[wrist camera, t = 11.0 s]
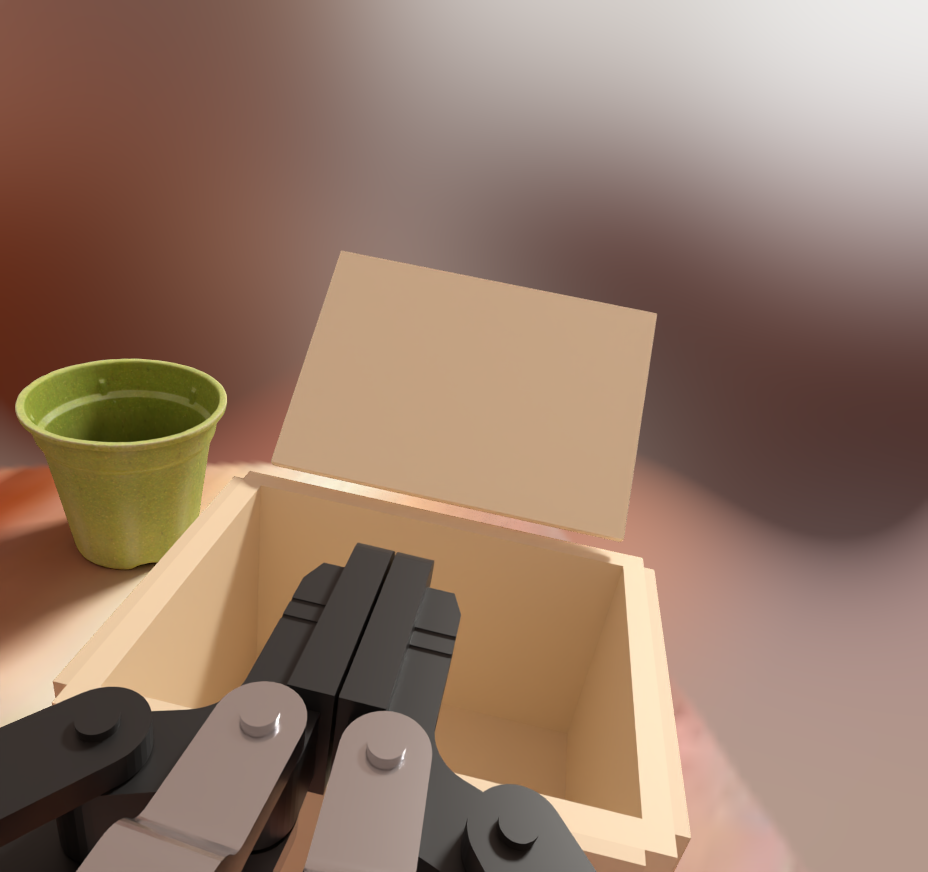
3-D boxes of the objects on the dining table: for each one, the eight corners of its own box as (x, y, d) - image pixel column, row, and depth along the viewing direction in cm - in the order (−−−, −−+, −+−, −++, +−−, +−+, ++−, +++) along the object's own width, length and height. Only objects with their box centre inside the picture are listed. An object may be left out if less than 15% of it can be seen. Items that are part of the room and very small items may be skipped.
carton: (68, 928, 22) (26, 711, 18) (238, 649, 33) (240, 468, 29) (593, 1070, 21) (696, 878, 17) (591, 733, 32) (652, 560, 28)
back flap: (270, 461, 28) (341, 250, 31) (273, 465, 28) (342, 257, 32) (623, 539, 27) (657, 313, 30) (620, 542, 27) (653, 319, 31)
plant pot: (164, 615, 34) (156, 463, 30) (-6, 563, 36) (-35, 411, 32) (256, 513, 43) (259, 383, 39) (116, 475, 44) (104, 344, 40)
